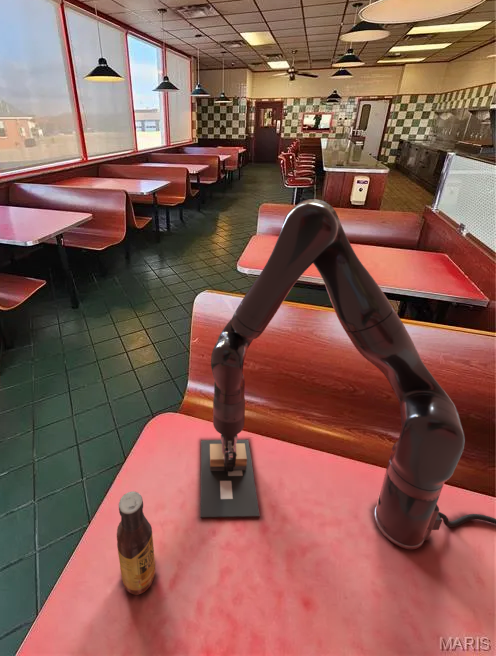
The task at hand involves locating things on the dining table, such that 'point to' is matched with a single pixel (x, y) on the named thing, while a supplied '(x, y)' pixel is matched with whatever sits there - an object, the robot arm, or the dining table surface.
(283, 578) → the dining table surface
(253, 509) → the slate board
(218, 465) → the eraser
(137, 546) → the sauce bottle
